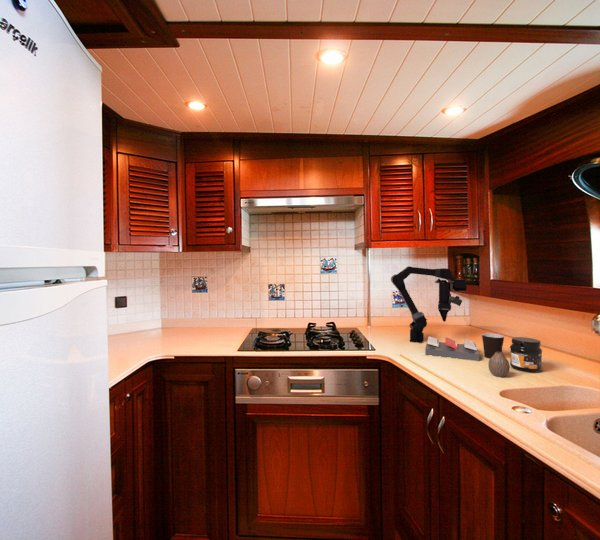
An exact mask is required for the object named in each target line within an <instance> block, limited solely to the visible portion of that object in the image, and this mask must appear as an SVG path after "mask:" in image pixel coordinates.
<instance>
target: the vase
mask: <svg viewBox="0 0 600 540" xmlns="http://www.w3.org/2000/svg"><path fill="white" fill-rule="evenodd" d="M510 367H511V365H510V362H509V360H508V359H507V358H506V356H505V355H504V353H503V352H502V353H501V352H495V354H494V355H493V356H492V357H491V358H490V359H489V361H488V370H489V372H490V374H492V375H493V376H494V377H497V378H505V377H507V376H508V375H509V373H510V371H511V368H510Z"/></svg>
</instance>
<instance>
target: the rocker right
mask: <svg viewBox="0 0 600 540" xmlns="http://www.w3.org/2000/svg"><path fill="white" fill-rule="evenodd" d="M462 341H463V343H462V344H464V347H466V348H469V349H473V350H476V351H477V349H478V346H477V343H476V342H475V341H470V340H468V339H463V340H462Z"/></svg>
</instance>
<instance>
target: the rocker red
mask: <svg viewBox="0 0 600 540" xmlns="http://www.w3.org/2000/svg"><path fill="white" fill-rule="evenodd" d="M444 340H445V342H444V343H446V345H448V346H450V347H452V348H455V349H457V347H458V346H457V344H458V342H457V341H456V340H454V339H452V338H450V337H446V338H445V339H444Z"/></svg>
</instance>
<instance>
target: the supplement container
mask: <svg viewBox="0 0 600 540" xmlns="http://www.w3.org/2000/svg"><path fill="white" fill-rule="evenodd" d="M541 343H542V341H541V340H539V339H537V338H533V337H532V338H531V337H526V336H525V337H524V336H515V337H512V338H511V344H510V346H509V348H510V350H509V351H510V354H509V355H510V356H509V357H510V358H509V359H510V362H509V365H510V367H511V368H513V369H514V370H516V371H519V372H524V373H531V374H532V373H534V374H536V373H540V372H541V371H542V370H543V368H542V363H543V362H542V361H543V359H542V357H543V355H542V354H543V349H542V348H541V346H542V344H541Z"/></svg>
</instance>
